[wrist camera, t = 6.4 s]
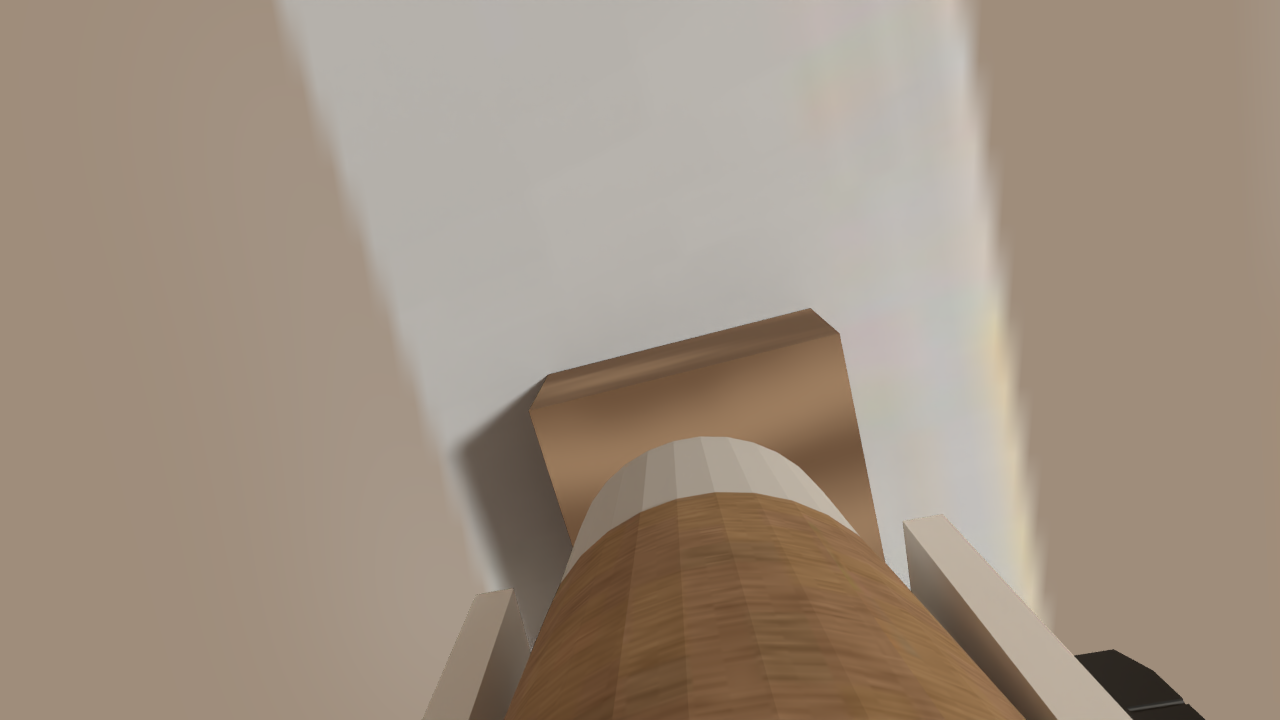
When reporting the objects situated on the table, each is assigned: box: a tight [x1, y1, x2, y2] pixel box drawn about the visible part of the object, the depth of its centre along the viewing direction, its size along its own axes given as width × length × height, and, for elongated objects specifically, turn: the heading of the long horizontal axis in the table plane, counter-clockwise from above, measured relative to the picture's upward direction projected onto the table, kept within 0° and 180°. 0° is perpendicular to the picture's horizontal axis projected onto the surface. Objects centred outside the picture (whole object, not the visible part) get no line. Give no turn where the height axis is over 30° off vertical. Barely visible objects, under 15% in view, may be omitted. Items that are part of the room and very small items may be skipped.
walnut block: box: [529, 308, 885, 562], centre depth 30 cm, size 12×12×5 cm
